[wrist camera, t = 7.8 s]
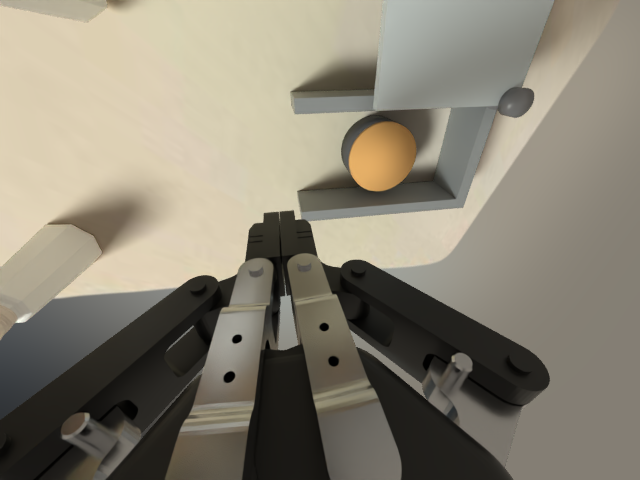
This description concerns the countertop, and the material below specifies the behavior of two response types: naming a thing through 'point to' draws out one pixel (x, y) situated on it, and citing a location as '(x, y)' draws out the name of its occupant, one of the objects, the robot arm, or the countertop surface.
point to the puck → (378, 152)
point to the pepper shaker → (43, 271)
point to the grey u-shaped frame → (442, 193)
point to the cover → (458, 53)
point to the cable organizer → (60, 8)
